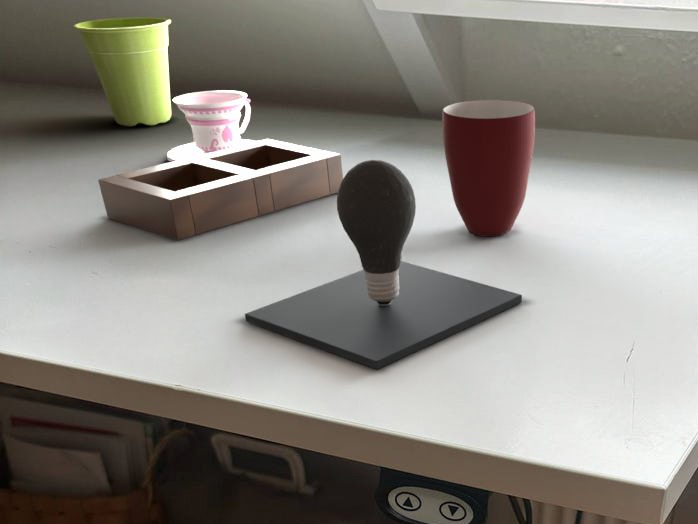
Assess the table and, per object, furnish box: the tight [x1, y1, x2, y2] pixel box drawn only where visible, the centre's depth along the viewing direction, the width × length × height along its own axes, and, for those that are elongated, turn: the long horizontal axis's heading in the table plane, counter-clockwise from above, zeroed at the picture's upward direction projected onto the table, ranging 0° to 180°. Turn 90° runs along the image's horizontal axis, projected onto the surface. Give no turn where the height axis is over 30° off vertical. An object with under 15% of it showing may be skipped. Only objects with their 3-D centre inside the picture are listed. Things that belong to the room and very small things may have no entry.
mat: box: [244, 260, 523, 370], centre depth 72 cm, size 16×14×1 cm
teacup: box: [166, 89, 257, 162], centre depth 108 cm, size 12×12×6 cm
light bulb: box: [336, 159, 417, 306], centre depth 68 cm, size 6×6×10 cm
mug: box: [441, 99, 536, 237], centre depth 85 cm, size 10×8×10 cm
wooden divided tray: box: [98, 138, 344, 241], centre depth 94 cm, size 21×12×4 cm, turn 140°
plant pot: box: [73, 16, 172, 127], centre depth 122 cm, size 12×12×11 cm
